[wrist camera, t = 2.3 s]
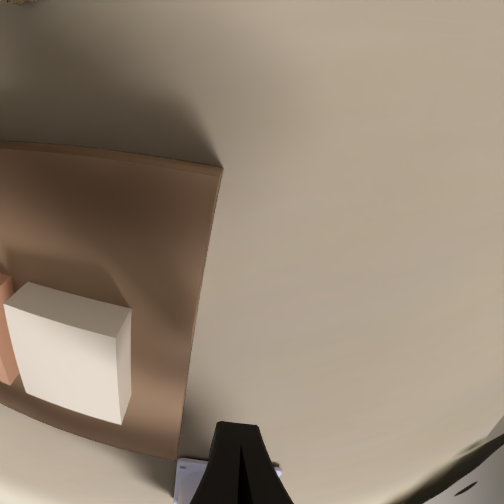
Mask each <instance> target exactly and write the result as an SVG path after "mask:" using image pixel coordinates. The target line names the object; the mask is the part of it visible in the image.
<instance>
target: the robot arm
mask: <svg viewBox="0 0 504 504" xmlns="http://www.w3.org/2000/svg"><path fill="white" fill-rule="evenodd" d="M281 474H282V469H281V468H279V467H274V466H273V464H272V462H271V460H270V457H269V455H268V452H267V450H266V447H265V445H264V442H263V439H262V436H261V433H260V430H259V427H258V426H257V425H250V424H241V423H232V422H224V421H220V422H217V424H216V428H215V432H214V436H213V440H212V444H211V448H210V455H209V461H202V460H195V459H188V458H179V459H178V460H177V469H176V480H175V491H174V504H294V503H293V502H292V500H291V498H290V497H289V495H288V493H287V492H286V490H285V488H284V486H283V484H282V482H281V481H280V479H279V477H280V475H281Z"/></svg>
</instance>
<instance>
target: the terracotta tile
mask: <svg viewBox="0 0 504 504" xmlns="http://www.w3.org/2000/svg"><path fill="white" fill-rule="evenodd" d="M13 294H14V290H13V283H12V276H8V275H5V274H2V273H0V381H1V382H3V383H6V384H8V385H10V386H11V384H12V383H13V381H14V380H15V378H16V377H17V376H18V374H19V373H20V372H19V369H18V365H17V362H16V358H15V354H14V350H13V346H12V342H11V338H10V334H9V330H8V325H7V320H6V315H5V310H4V304H3V303H5V302H6V301H7V300H8V299H9V298H10V297H11V296H12V295H13Z"/></svg>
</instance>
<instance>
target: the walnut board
mask: <svg viewBox="0 0 504 504" xmlns="http://www.w3.org/2000/svg"><path fill="white" fill-rule="evenodd" d="M222 173H223V168H221V167H215V166H210V165H204V164H199V163H193V162H187V161H181V160H175V159H169V158H163V157H156V156H150V155H143V154H136V153H129V152H121V151H113V150H105V149H97V148H88V147H78V146H68V145H57V144H45V143H32V142H16V141H0V273H2V274H5V275H8V276H12V283H13V290H14V294H15V293H16V292H17V291H18V290H19V289H20V288H21V287H22V286H24V285H25V284H26V283H27V282H31V283H35V284H38V285H41V286H45V287H48V288H52V289H56V290H59V291H63V292H66V293H70V294H74V295H78V296H82V297H85V298H89V299H93V300H97V301H101V302H106V303H110V304H114V305H118V306H122V307H127V308H131V397H130V400H129V403H128V406H127V409H126V412H125V416H124V419H123V422H122V425H119V424H116V423H112V422H108V421H105V420H101V419H98V418H95V417H91V416H88V415H85V414H82V413H79V412H76V411H73V410H70V409H67V408H64V407H61V406H59V405H56V404H53V403H51V402H48V401H45V400H43V399H40V398H38V397H35V396H33V395H30V394H28V393H26V391H25V388H24V385H23V382H22V379H21V375H20V373H19V374H18V376H17V377H16V378H15V380H14V381H13V383H12V384H11V386H10V385H8V384H6V383H3V382H1V381H0V403H1V404H3V405H5V406H7V407H9V408H11V409H13V410H15V411H18V412H20V413H22V414H24V415H26V416H29V417H31V418H33V419H36V420H38V421H41V422H43V423H45V424H48V425H51V426H53V427H56V428H58V429H61V430H64V431H66V432H69V433H72V434H75V435H78V436H81V437H84V438H87V439H90V440H93V441H96V442H100V443H103V444H107V445H110V446H114V447H117V448H121V449H125V450H129V451H133V452H137V453H141V454H146V455H150V456H155V457H160V458H165V459H170V460H176V459H177V452H178V445H179V438H180V432H181V425H182V417H183V409H184V401H185V393H186V385H187V378H188V370H189V363H190V356H191V349H192V343H193V336H194V329H195V323H196V316H197V310H198V304H199V298H200V291H201V285H202V280H203V274H204V268H205V262H206V256H207V251H208V245H209V240H210V234H211V229H212V223H213V218H214V213H215V208H216V203H217V197H218V192H219V187H220V182H221V177H222Z"/></svg>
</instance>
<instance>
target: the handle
mask: <svg viewBox="0 0 504 504" xmlns="http://www.w3.org/2000/svg"><path fill="white" fill-rule="evenodd" d="M4 1H6V2H9V3H12V4H19V5H20V4H23V3H24V2H26V1H33V2H36V1H38V0H4Z"/></svg>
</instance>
